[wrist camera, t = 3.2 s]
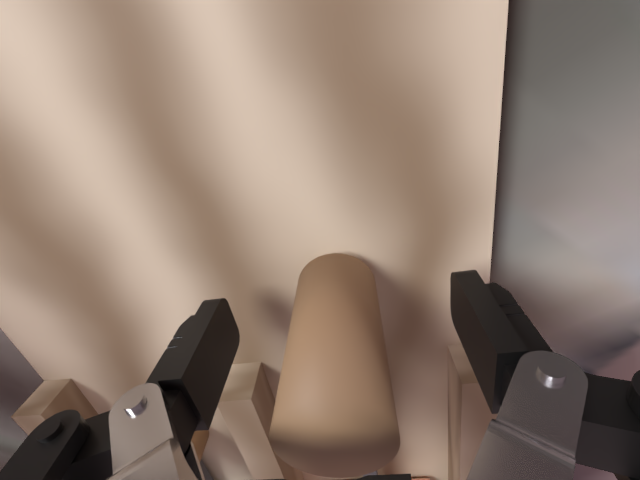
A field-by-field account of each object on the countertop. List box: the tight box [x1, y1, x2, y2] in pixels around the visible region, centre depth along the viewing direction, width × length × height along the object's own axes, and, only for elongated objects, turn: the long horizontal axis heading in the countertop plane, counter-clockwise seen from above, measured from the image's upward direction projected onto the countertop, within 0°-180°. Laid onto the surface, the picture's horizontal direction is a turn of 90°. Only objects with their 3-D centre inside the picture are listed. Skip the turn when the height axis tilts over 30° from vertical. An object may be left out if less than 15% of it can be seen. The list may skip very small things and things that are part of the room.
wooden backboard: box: [0, 0, 509, 480], centre depth 15 cm, size 22×40×3 cm, turn 10°
